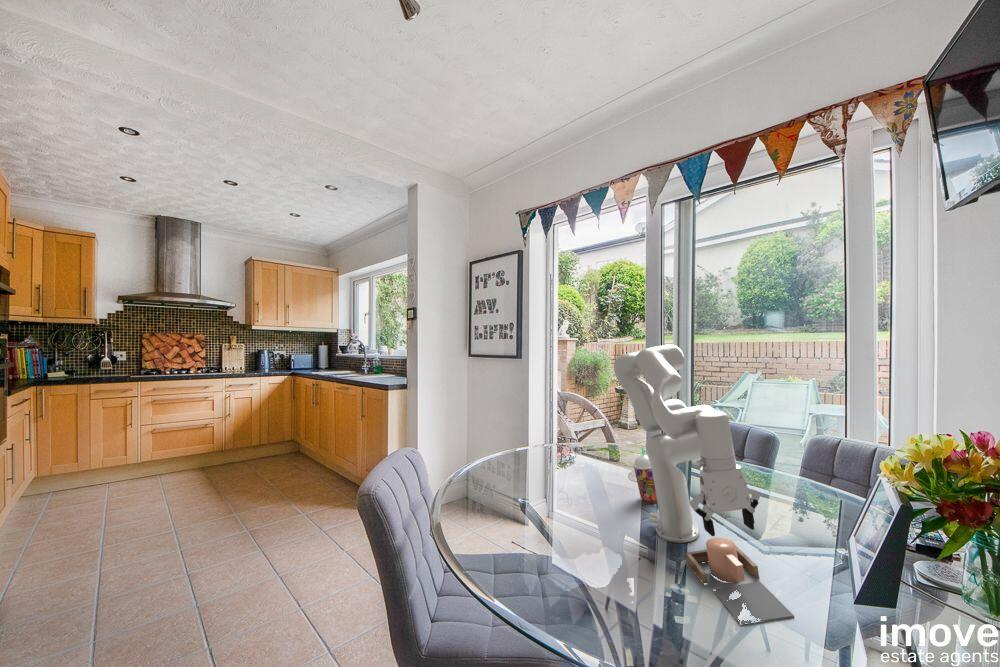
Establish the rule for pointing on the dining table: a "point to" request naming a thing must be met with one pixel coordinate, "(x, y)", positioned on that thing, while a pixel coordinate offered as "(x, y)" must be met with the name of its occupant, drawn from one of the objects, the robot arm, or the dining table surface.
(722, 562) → the rounded block with tab
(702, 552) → the holder
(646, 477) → the smoothie
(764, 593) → the mat
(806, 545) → the dining table surface
